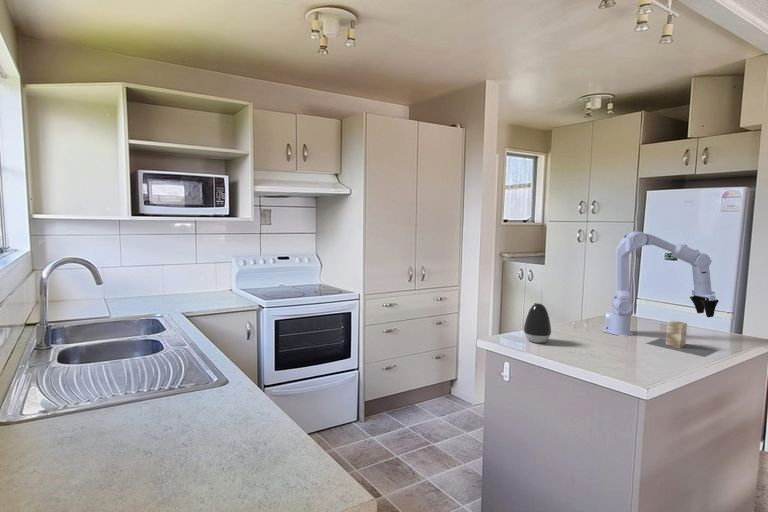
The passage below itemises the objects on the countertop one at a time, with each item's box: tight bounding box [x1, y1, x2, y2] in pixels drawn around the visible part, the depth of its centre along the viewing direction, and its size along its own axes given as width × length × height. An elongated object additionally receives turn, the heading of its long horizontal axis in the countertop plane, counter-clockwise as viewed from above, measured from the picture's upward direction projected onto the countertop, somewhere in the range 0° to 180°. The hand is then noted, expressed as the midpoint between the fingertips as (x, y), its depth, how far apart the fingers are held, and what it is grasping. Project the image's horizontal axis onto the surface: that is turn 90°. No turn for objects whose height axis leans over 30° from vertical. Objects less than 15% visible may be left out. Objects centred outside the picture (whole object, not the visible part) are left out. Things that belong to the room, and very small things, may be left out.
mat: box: [645, 337, 719, 357], centre depth 173 cm, size 20×14×1 cm
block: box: [665, 320, 688, 348], centre depth 174 cm, size 5×5×9 cm
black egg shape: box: [523, 302, 552, 344], centre depth 178 cm, size 10×10×15 cm
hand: (705, 314), depth 184 cm, fingers open, 7 cm apart
